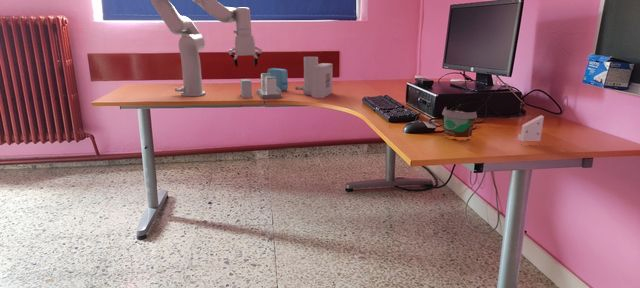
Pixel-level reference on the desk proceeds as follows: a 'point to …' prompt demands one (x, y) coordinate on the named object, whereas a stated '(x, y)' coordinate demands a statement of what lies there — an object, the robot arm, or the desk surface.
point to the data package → (280, 78)
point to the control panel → (317, 78)
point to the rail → (264, 96)
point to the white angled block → (532, 130)
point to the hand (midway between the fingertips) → (246, 66)
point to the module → (246, 88)
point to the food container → (458, 123)
